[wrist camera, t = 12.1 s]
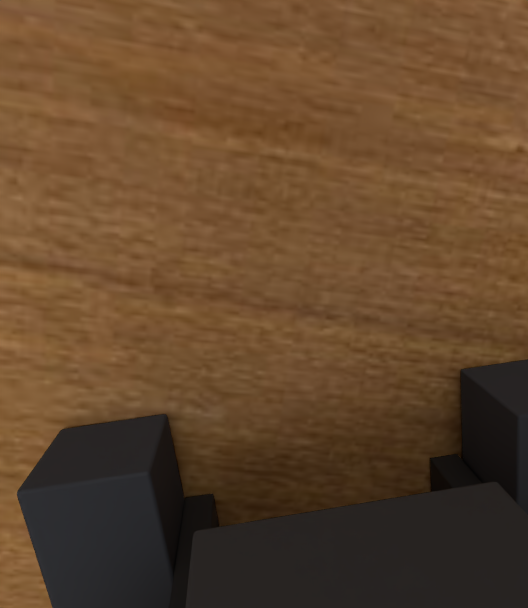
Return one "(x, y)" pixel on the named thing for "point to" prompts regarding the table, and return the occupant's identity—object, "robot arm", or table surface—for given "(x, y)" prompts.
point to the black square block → (371, 555)
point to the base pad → (170, 500)
